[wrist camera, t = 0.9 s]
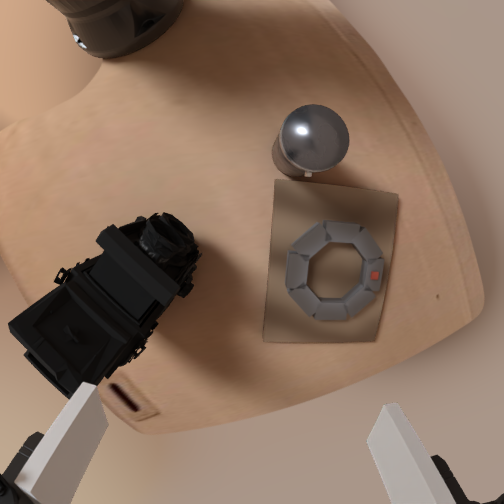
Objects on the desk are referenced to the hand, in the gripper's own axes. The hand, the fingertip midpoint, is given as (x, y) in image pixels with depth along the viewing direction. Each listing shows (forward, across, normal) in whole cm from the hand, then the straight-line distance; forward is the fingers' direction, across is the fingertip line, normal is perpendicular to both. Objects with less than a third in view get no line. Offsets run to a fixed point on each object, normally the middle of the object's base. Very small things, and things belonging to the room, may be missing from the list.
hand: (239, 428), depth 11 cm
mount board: (+21, +10, +2) cm, 24 cm away
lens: (+22, +4, +14) cm, 26 cm away
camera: (+22, -10, +1) cm, 24 cm away
